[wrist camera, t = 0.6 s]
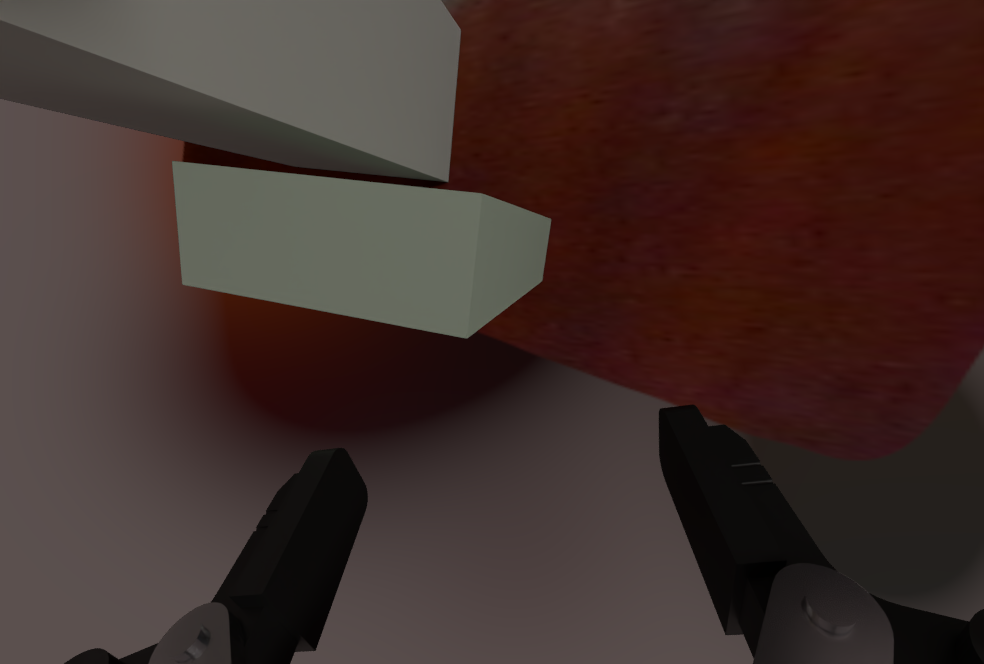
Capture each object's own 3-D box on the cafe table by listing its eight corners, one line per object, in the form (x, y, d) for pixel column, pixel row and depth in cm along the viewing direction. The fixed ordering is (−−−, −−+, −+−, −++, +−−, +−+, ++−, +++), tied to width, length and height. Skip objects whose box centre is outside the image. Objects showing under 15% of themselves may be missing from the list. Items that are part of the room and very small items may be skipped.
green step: (403, 202, 35) (171, 160, 16) (551, 219, 32) (482, 193, 13) (399, 259, 36) (182, 284, 17) (541, 281, 33) (466, 338, 14)
